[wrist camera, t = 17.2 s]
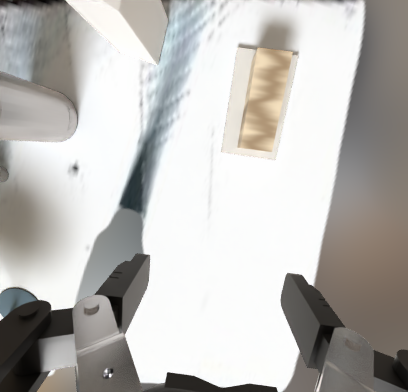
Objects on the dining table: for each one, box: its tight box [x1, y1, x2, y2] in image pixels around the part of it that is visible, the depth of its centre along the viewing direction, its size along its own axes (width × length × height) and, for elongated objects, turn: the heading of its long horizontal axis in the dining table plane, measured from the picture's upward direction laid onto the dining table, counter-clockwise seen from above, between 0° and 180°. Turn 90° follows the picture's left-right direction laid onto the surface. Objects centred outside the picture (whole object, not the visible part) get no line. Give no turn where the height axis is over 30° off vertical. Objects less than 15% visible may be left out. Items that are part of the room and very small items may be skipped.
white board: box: [221, 47, 298, 160], centre depth 36 cm, size 10×17×1 cm, turn 172°
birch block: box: [237, 47, 293, 152], centre depth 33 cm, size 5×5×14 cm
